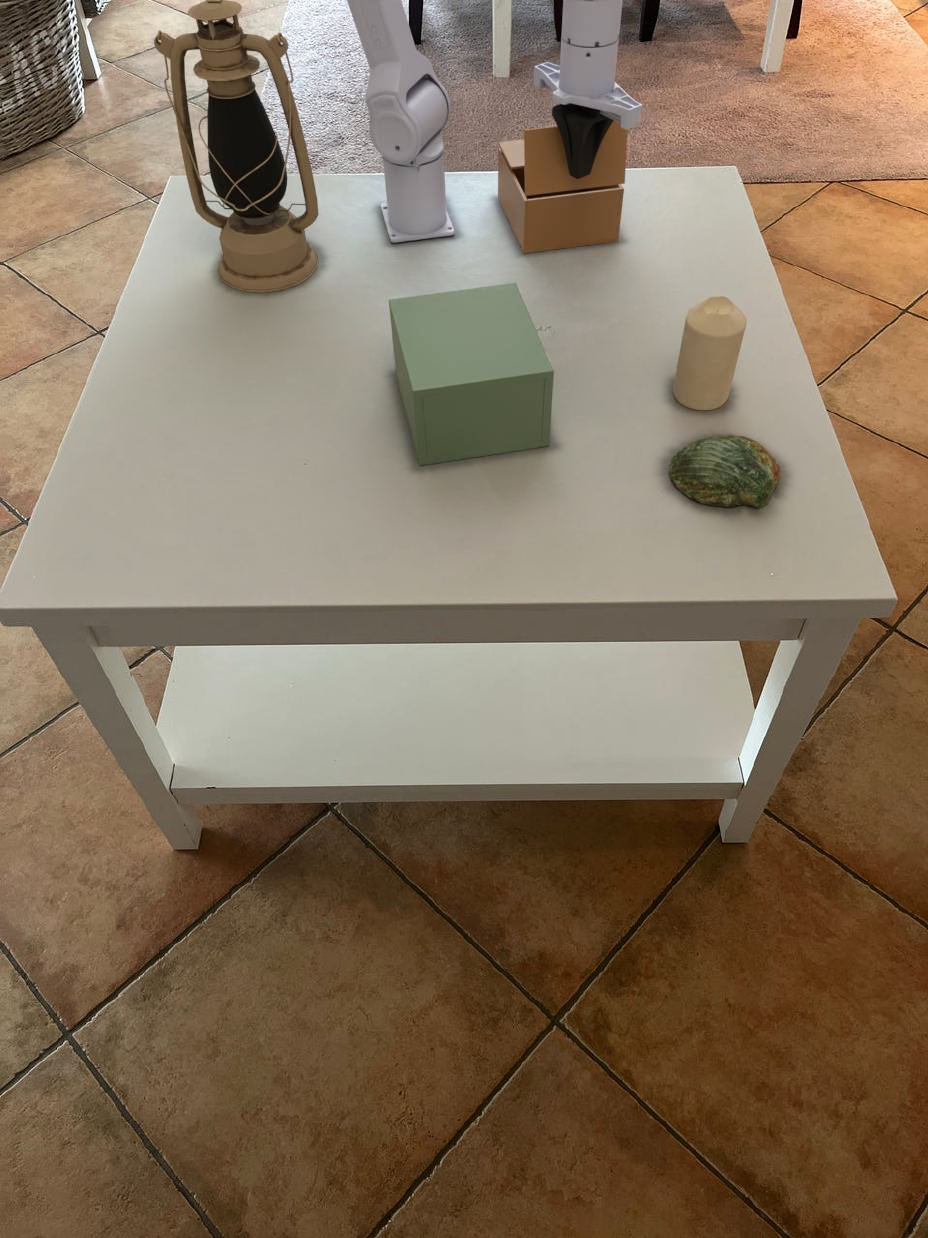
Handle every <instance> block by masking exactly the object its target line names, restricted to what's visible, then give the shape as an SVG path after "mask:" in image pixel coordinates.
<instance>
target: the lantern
mask: <svg viewBox="0 0 928 1238" xmlns="http://www.w3.org/2000/svg"><path fill="white" fill-rule="evenodd" d="M242 9H243V6H242V5H241V3H239V2H237V1H233V0H203V1H201V2H199V3H197V4H195V5H192V6H191V7H190V8H188V10H187V13H186V14H187V15H188V16H189V17H190V18H192V19H194V20H195V21H196V25H197V32H190V33H189V32H188V33H182V34H180V35H178V36H177V37H175V38H174V37H172V36H171V35H169V33H166V32H163V31H162V30H160V29H159V30H158V31H157V35H156V36H155V37H154V39H153V44H154V47H155V49H156V50H157V51H158V52H159V53H160V54H161V55H163V57H164V63H165V64H164V65H165V71H166V77H165V78H164V80H163V83H164V89H165V92H166V94H167V97H168V100H169V102H170V105H171V107H172V110H173V113H174V116H175V120H176V124H177V125H176V126H177V134H178V138H179V145H180V149H181V154H182V160H183V166H184V170H185V175H186V180H187V184H188V189H189V192H190V197H191V200H192V202H193V207H194V209H195V212H196V213H197V215H199V216H200V217H201V218H202V219H203V220H204V221H206V222H207V223H209V224H210V225H212V226H215V227H216V228H219V229H221V230H220V233H219V243H220V247H221V252H222V255H221V256H220V260H219V261H218V265H217V270H216V271H217V274H218V276H219V278H220V280H221V282H222V283H224V284H225V285H227V286H228V287H230V288H231V289H234V290H238V291H241V292H245V293H262V294H265V293H272V292H279V291H284V290H287V289H289V288H293V287H295V286H298V285H300V284H302V283H303V282H305V281H306V280H308V279H309V278H311V277H312V275H314V273H315V272H316V271H317V269H318V268H319V260H320V259H319V258H320V257H319V255H318V253H317V251H316V249H315V248H314V247H313V246H312V245H311V243H309V242H308V241H307V237H306V231H305V230H306V229H307V228H309V227H310V226H311V225H313V224H314V222H316V220H317V219H318V217H319V215H320V214H319V203H318V196H317V190H316V185H315V180H314V174H313V170H312V169H313V168H312V165H311V160H310V156H309V151H308V148H307V143H306V139H305V134H304V132H303V126H302V123H301V119H300V115H299V110H298V107H297V105H296V101H295V97H294V93H293V90H292V87H291V84H293V83H294V75H293V74H294V73H293V70H292V66H291V62H290V59H289V58H290V57H289V55H288V50H289V43H288V40H287V39H286V37H285V36H283V33H282V32H280V31H279V32H278V33H277V34H274V35H273V36H272V37H271V38H270V39H268V38H266V37H264V36H262V35H258V34H252V33H244V29H243V27H242V26H240V23H239V17H238V14H240V13H241V12H242ZM231 18H232V22H230V21H228V20H227V19H231ZM204 22H207V23H204ZM197 50H198V51H199V53H200V57H201V59H200V60H198V62H196V63H195V64H194V66H193V68H192V70H193V73H194V75H195V76H196V77H197V78H199V79H202V80H205V81H206V84H207V88H206V92H207V94H208V96H207V115H204V116H202V118H200V120H199V122H198V134H199V136H200V139H201V141H202V142H203V144H204V146H205V148H206V149H207V158H208V169H209V174H210V178H211V181H212V185H213V188H214V191H215V192H214V191H212V190H211V189H210V188H208V186H207V185H206V184H205V183H204V182H203V181H202V177H201V176H200V175H201V174H200V170H199V165H198V160H197V154H196V153H197V152H196V148H195V142H194V136H193V131H192V124H191V117H190V110H189V102H188V93H187V85H186V64H185V63H186V62H185V58H186V55H187V52H188V51H197ZM248 52H256V53H258V54H260V55H261V56H262V58H263V59H264V60H265V61H266V64H267V66H268V69H269V71H270V74H271V77H272V79H273V81H274V84H275V88H276V91H277V94H278V97H279V101H280V104H281V108H282V111H283V114H284V117H285V122H286V126H287V128H288V141H287V147H286V152H285V153H286V154H285V157H284V154H283V151H282V148H281V145H280V142H279V140H278V137H279V136H278V132H277V131H275V130H274V128H273V124H272V123H271V121H270V118H269V116H268V113H267V111H266V108H265V106H264V104H263V102H262V100H261V98H260V96H259V93H258V91H257V90H256V87H257V84H256V83H255V81H253V77H252V74H254V73H256V72H257V71H258V70H259V69H260V67H261V62H260V60H259V59H258V58H257V57H256V56H254V55H252V54H248ZM283 56H285V57H286V60H287V64H288V69H289V73H290V80H289V78H288V77H289V76H288V75H287V73H286V69H285V67H284V64H283V62H282V61H283V60H282V57H283ZM168 60H170V61H169V63H170V65H169V67H170V74H169V67H168ZM169 75H170V77H169ZM169 78H170V79H169ZM169 80H170V82H171V90H172V98H173V101H172V98H171V95H170V92H169V89H168V85H167V81H169ZM205 119H207V143H206V141H205V140H204V138H203V136H202V133H201V123H202V122H203V120H205ZM291 143H292V148H293V153H294V157H295V160H296V165H297V169H298V174H299V178H300V182H301V188H302V193H303V198H304V203H291V204H290V206H289V208H286V207H284V206H282V205H281V201H283V199H284V197H285V195H286V192H287V187H288V173H287V172H288V171H287V163H288V157H289V152H290V151H289V150H290V144H291ZM203 188H205V189H206V190H207V191H208V192H209V193H211V194H212V195H213V196H215V197H216V198H218V199H219V200H220V201H221V202H220V201H219V200H206V197H205V194H204V189H203ZM208 203H218V204H219V205H220V206H221V208H223V210H231V211H232V213H230V215H229V216H225V215H223V214H220V213H218V212H216V211H215V210H213V209H212V208H211V207H210V206H209V205H208ZM293 206H305V211H304V212H303V214H301V215H300V216H296V215H295V214H294V213H292V212H291V211H290V210H291V208H292V207H293Z"/></svg>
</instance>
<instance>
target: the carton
mask: <svg viewBox="0 0 928 1238" xmlns="http://www.w3.org/2000/svg"><path fill="white" fill-rule="evenodd" d="M498 146H499V147H498V148H497V200H498V202H499V204H500V206H501V208H502V211H503V213H504V215H505V217H506V219H507V221H508V224H509V226H510V228H511V231H512V232H513V235H514V236H515V240H516V241H517V243H518V245H519V247H520V250H521V251H522V254H523V255H524V254H532V253H539V252H540V253H541V252H546V251H547V252H548V251H556V250H561V249H562V250H563V249H571V248H578V247H586V246H593V245H600V244H608V243H609V244H610V243H617V242H619V238H620V229H621V220H622V211H623V202H624V195H625V193H624V192H625V187H624V186H623V184H618V185H610V186H602V187H594V188H585V189H577V190H569V191H561V192H553V193H545V194H537V195H529V196H525V164H524V138H523V139H515V140H506V141H499V142H498Z"/></svg>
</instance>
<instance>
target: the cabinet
mask: <svg viewBox="0 0 928 1238" xmlns="http://www.w3.org/2000/svg"><path fill="white" fill-rule="evenodd" d="M388 308H389V319H390V326H391V337H392V346H393V357H394V368H395V375H396V379H397V384H398V387H399V392H400V395H401V399H402V403H403V407H404V411H405V414H406V419H407V423H408V427H409V431H410V434H411V438H412V443H413V446H414V450H415V454H416V458H417V462H418V465H419V466H420V467H421V466H429V465H435V464H441V463H447V462H455V461H460V460H468V459H474V458H480V457H487V456H492V455H500V454H505V453H506V454H507V453H512V452H520V451H526V450H532V449H539V448H545V447H546V448H547V447H550V442H551V441H550V440H551V427H552V426H551V423H552V410H553V409H552V408H553V407H552V406H553V393H554V391H553V390H554V377H555V376H554V374H555V370H554V368H553V366H552V363H551V361H550V359H549V357H548V354H547V352H546V350H545V346H544V344H543V343H542V340H541V337H540V336H539V334H538V331H537V329H536V327H535V324H534V322H533V319H532V317H531V315H530V312H529V310H528V309H527V306H526V304H525V301H524V299H523V296H522V294H521V292H520V289H519V287H518V285H517V283H516V282H512V283H503V284H496V285H490V286H489V285H488V286H482V287H475V288H474V287H473V288H466V289H459V290H451V291H443V292H436V293H430V294H422V295H414V296H413V295H412V296H407V297H399V298H392V299H389V300H388Z"/></svg>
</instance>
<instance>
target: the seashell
mask: <svg viewBox="0 0 928 1238" xmlns="http://www.w3.org/2000/svg"><path fill="white" fill-rule="evenodd" d="M776 461H777V460H776V459H775V458H774V457H773V456H772V454H771V453H770V452H769V451H768V450H767V448H765V447H764V446H763V445H761V443H759V442H758V441H756V440H755V439H753V438H751V437H746V436H744V435H743V436H742V435H736V434H729V433H728V434H714V435H712V436H708V437H704V438H702V439H698V440H694V441H693V442H691V443H689V444H688V445H687V446H685V447H683V448H682V449H680V450H678V452H677V453H676V455H674V456H672V458H671V459H670V463H669V465H668V466H669V469H668V470H669V477H670V479H671V481H672V483H673V484H674V486H675V487H676V488H677V489H679V490H680V492H681V493H682V494H684V495H685V496H686V497H688V498H690V499H692V500H693V501H695V502H698V503H700V504H704V505H708V506H709V505H710V506H715V507H723V508H733V507H735V506H739V505H742V506H743V505H745V506H746V505H749V506H752V507H754V508H757V509H762V508H764V507H765V506H766V505H768V503H769V502H770V500H771V498H772V496H773V494H774V491H775V490H776V489H777V487H778V485H779V483H780V479H781V475H782V470H781V466H780V465H779V464H778V463H777V462H776Z"/></svg>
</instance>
